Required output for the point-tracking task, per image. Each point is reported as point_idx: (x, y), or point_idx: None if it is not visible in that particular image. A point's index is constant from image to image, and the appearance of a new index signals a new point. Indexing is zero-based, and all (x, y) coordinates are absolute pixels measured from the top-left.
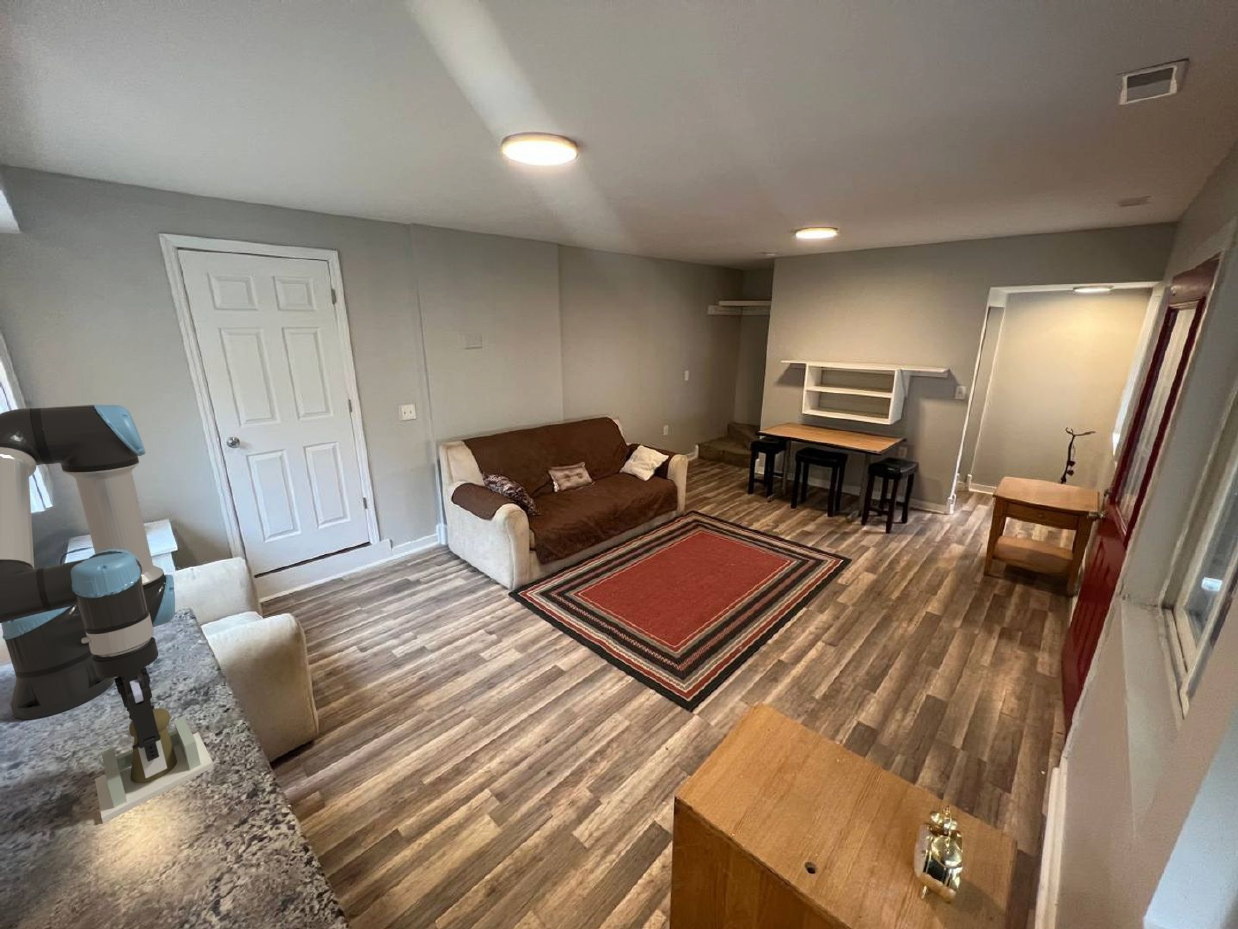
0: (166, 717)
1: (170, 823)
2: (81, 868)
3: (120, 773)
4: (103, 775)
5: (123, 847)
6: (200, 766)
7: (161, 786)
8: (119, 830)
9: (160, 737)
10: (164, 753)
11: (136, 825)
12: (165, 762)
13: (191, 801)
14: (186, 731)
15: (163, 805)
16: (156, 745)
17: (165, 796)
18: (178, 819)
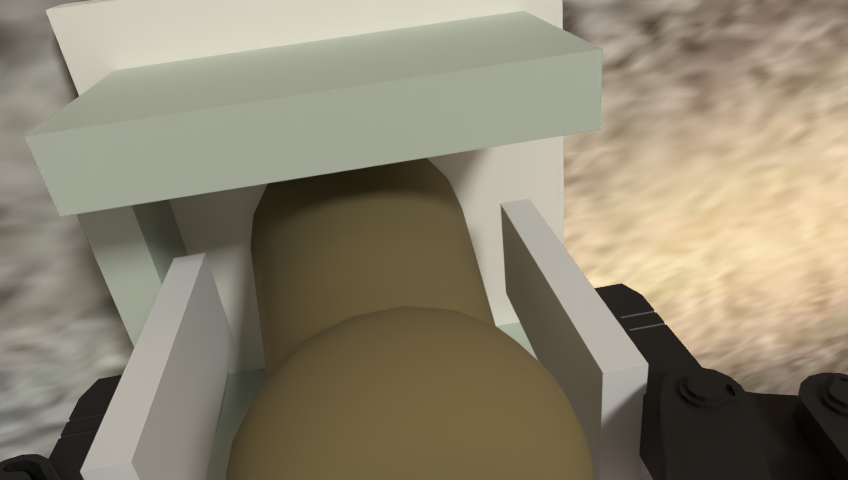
0: (517, 387)
1: (815, 148)
2: (749, 382)
3: (255, 370)
4: None
5: (777, 289)
6: (538, 13)
7: (550, 200)
8: (658, 311)
9: (843, 383)
10: (462, 237)
11: (689, 263)
12: (542, 221)
13: (752, 65)
14: (358, 116)
15: (655, 179)
16: (689, 353)
17: (591, 174)
18: (824, 119)
